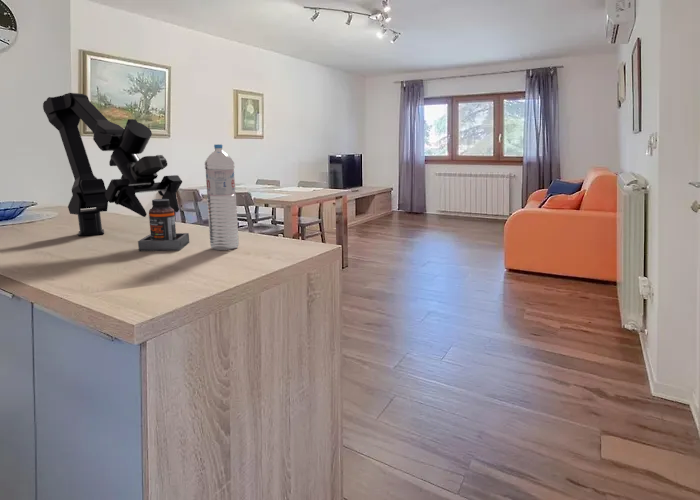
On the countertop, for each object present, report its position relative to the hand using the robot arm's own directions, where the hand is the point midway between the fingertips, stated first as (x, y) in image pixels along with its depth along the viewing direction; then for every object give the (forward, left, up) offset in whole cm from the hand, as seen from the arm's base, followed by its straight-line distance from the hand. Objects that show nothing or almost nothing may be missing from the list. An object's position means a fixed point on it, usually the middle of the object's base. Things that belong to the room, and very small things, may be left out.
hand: (162, 213), depth 119 cm
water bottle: (+9, +13, -9) cm, 18 cm away
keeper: (0, 0, -8) cm, 8 cm away
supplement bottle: (0, 0, -8) cm, 8 cm away
